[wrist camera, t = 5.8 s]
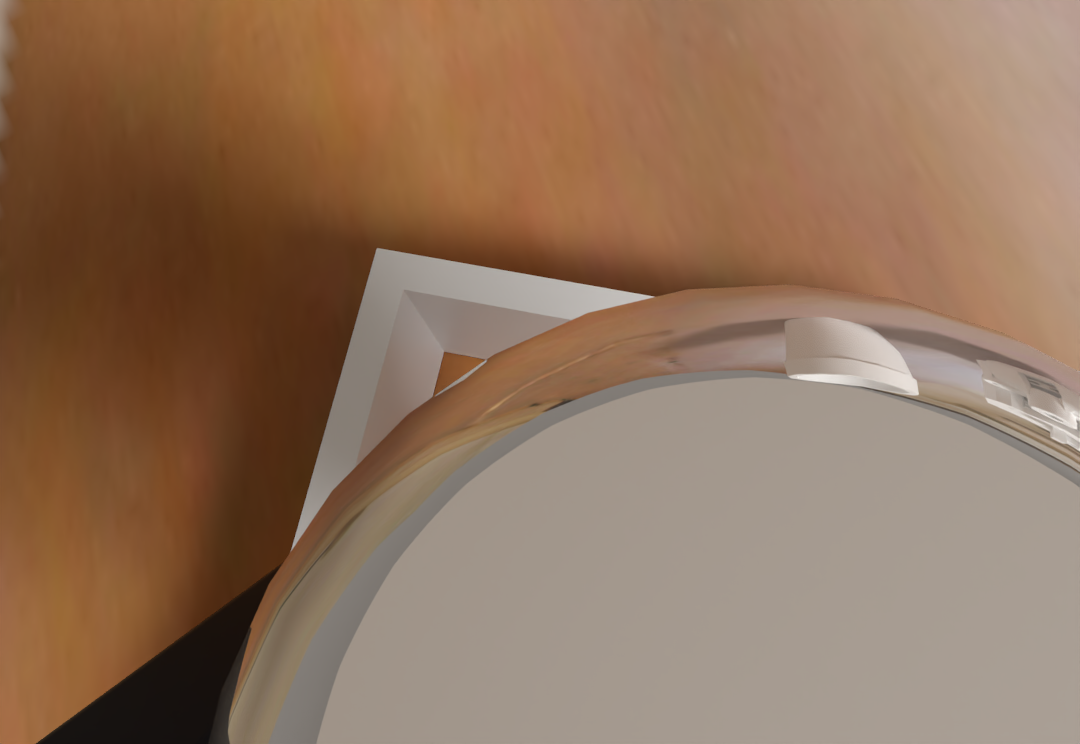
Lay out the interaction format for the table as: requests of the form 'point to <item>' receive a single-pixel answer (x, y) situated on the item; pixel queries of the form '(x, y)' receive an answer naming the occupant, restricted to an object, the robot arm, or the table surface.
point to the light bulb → (696, 542)
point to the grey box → (430, 345)
